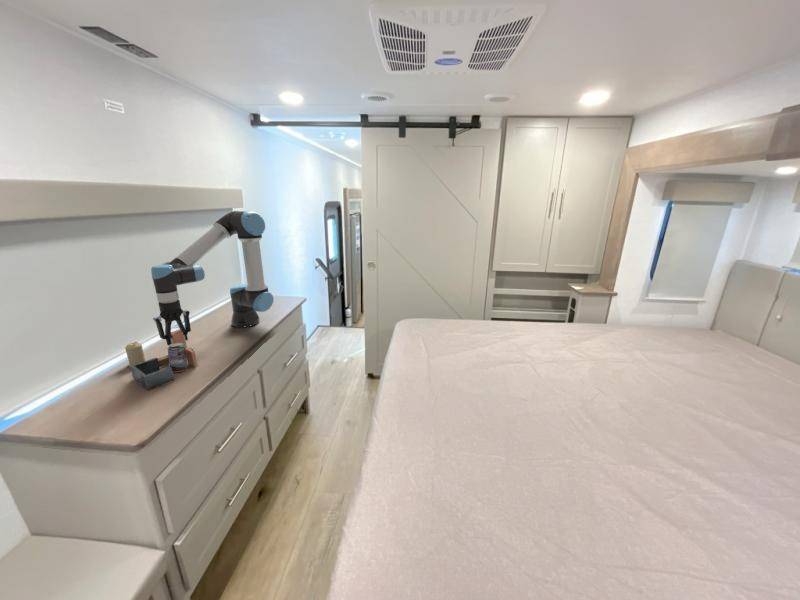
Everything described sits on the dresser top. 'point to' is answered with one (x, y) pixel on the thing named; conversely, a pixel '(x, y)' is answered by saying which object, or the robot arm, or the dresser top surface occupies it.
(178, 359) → the beverage can
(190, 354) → the kicker
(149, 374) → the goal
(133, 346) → the candle
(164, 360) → the rail
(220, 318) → the dresser top surface
